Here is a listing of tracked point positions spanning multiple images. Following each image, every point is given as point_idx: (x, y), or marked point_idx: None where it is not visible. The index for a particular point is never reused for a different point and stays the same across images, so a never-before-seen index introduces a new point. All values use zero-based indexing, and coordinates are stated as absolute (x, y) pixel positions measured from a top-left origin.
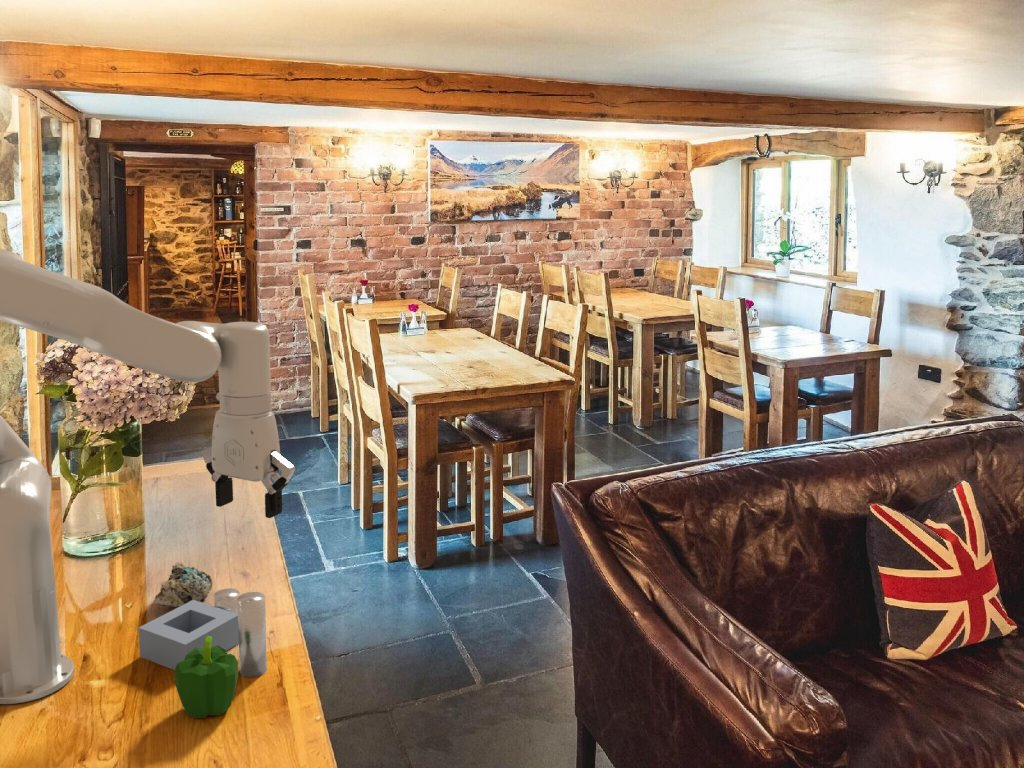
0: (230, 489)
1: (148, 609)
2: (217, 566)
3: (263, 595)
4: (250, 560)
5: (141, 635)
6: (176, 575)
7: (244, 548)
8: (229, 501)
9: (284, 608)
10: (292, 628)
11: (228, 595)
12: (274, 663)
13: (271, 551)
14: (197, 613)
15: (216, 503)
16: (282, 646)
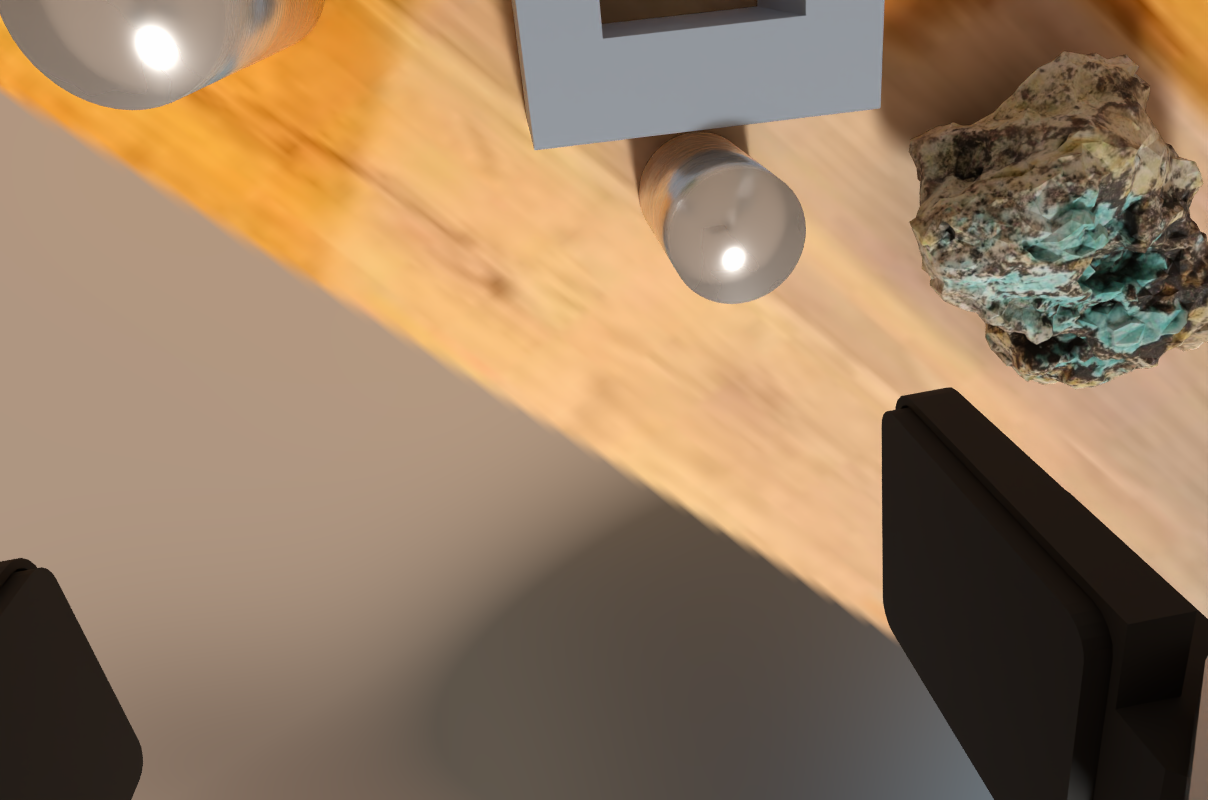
0: (968, 713)
1: (1144, 63)
2: (1136, 508)
3: (83, 88)
4: None
5: None
6: (1152, 226)
7: None
8: (889, 570)
9: (621, 450)
10: (450, 360)
11: (715, 230)
12: (238, 94)
13: None
14: (748, 21)
15: (957, 401)
16: (348, 226)
